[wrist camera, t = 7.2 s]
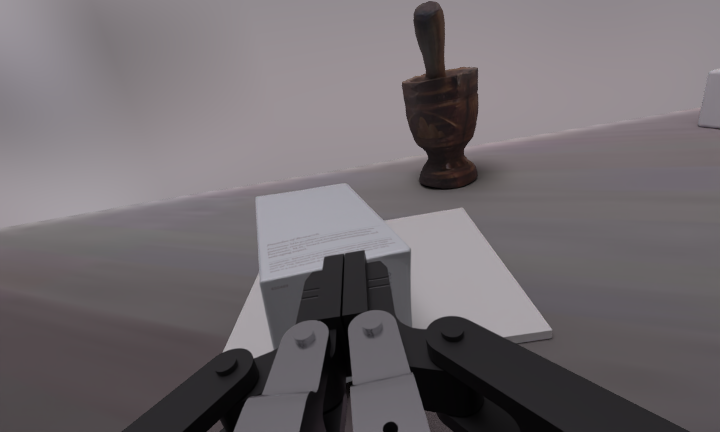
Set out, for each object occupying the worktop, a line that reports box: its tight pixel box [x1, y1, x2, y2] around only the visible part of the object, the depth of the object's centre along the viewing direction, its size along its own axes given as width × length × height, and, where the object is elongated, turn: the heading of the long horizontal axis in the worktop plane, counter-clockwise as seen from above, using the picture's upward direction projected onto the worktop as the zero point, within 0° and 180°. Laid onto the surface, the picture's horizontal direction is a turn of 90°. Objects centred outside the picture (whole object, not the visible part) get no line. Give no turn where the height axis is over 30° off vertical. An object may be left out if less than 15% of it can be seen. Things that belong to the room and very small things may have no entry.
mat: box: [223, 208, 552, 358], centre depth 29 cm, size 20×18×1 cm
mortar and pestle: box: [402, 1, 478, 189], centre depth 41 cm, size 12×9×20 cm
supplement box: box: [255, 183, 412, 383], centre depth 23 cm, size 7×7×13 cm
